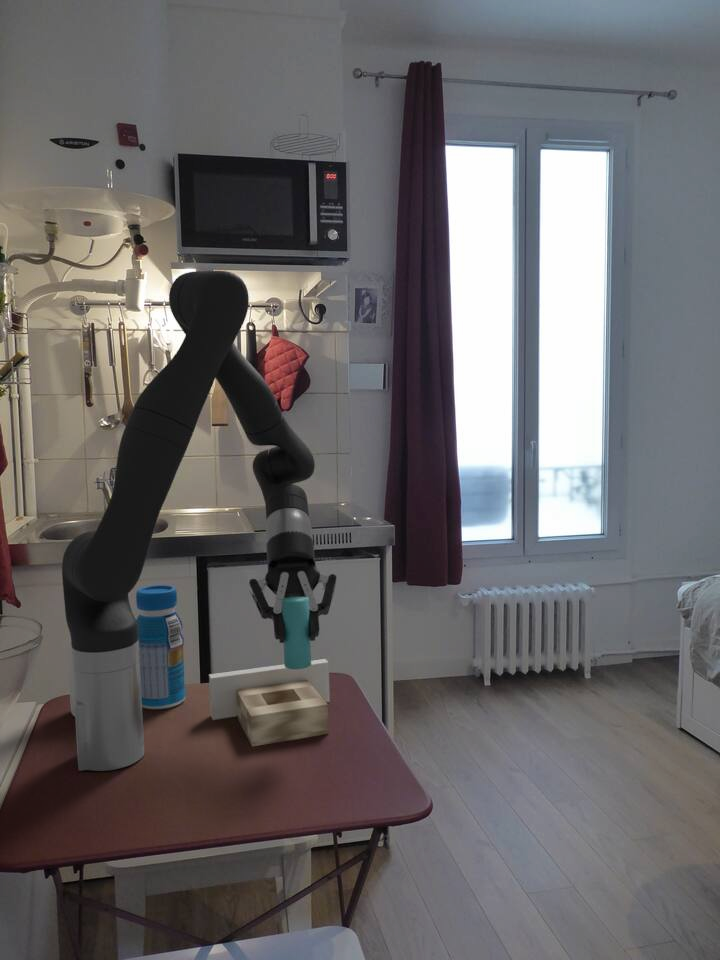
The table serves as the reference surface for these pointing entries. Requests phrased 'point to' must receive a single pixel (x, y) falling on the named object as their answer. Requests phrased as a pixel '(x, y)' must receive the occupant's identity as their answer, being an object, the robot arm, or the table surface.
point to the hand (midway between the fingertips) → (297, 638)
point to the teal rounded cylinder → (296, 632)
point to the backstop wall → (262, 684)
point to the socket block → (282, 712)
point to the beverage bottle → (160, 647)
